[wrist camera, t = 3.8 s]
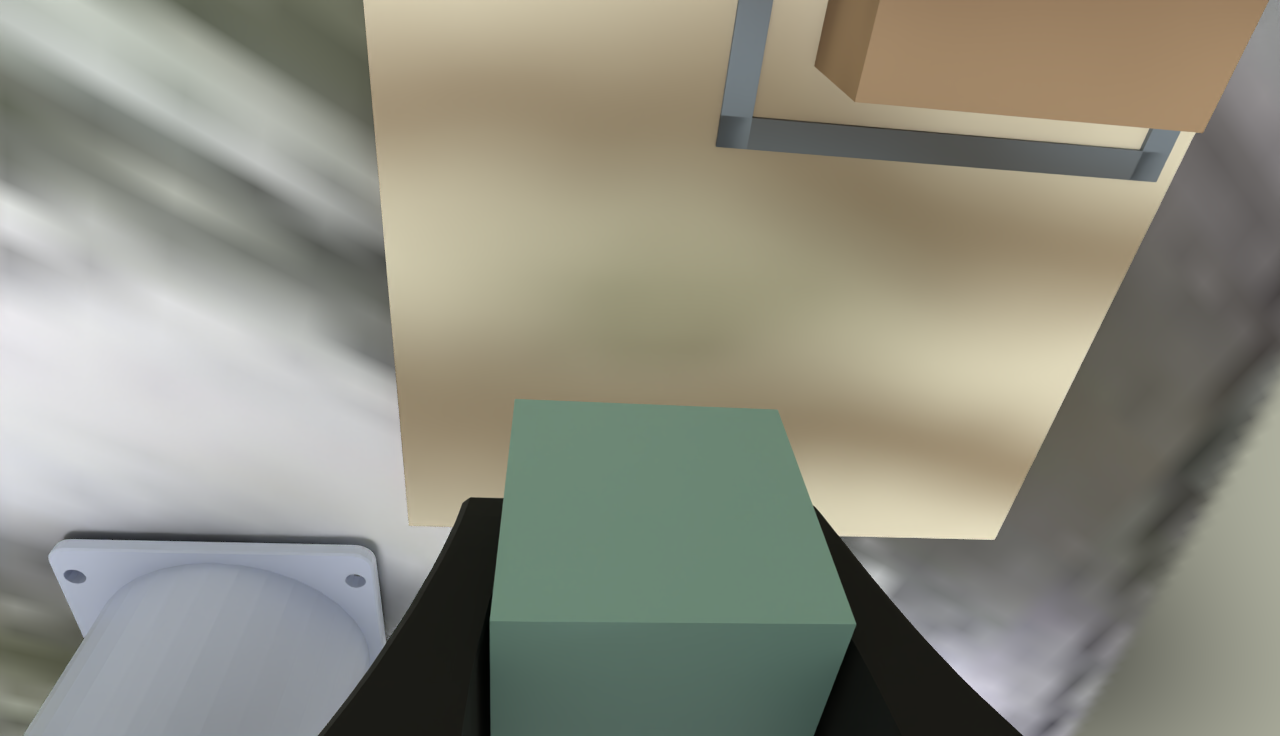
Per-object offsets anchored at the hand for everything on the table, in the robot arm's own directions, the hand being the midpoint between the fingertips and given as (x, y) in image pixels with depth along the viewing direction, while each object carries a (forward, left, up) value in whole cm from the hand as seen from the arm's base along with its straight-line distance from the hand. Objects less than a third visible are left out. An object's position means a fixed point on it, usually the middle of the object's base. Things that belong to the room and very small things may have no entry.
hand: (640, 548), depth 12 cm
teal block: (0, 0, -1) cm, 1 cm away
